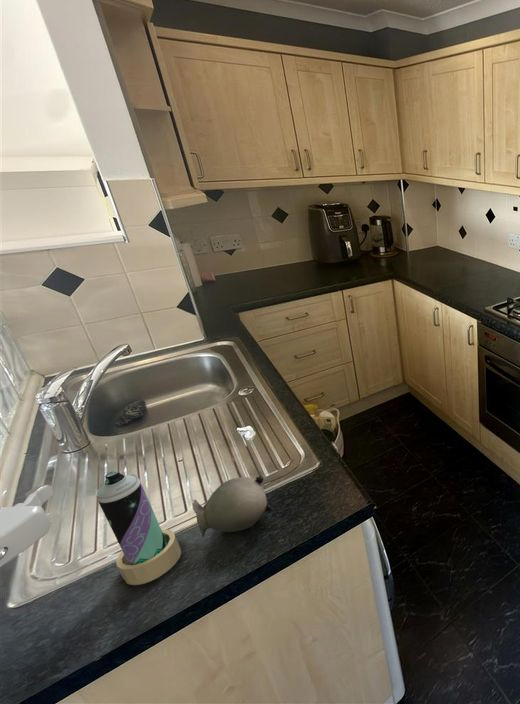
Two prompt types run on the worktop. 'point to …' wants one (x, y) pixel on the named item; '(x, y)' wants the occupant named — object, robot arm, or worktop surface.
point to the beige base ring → (151, 563)
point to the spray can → (131, 517)
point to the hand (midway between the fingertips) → (10, 490)
